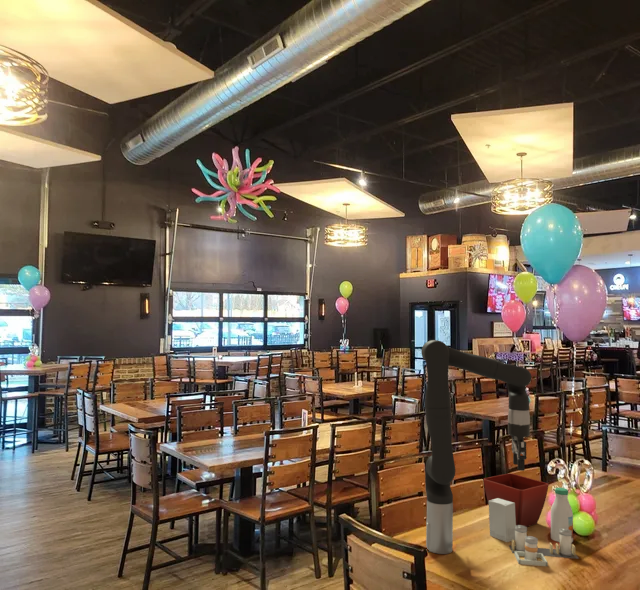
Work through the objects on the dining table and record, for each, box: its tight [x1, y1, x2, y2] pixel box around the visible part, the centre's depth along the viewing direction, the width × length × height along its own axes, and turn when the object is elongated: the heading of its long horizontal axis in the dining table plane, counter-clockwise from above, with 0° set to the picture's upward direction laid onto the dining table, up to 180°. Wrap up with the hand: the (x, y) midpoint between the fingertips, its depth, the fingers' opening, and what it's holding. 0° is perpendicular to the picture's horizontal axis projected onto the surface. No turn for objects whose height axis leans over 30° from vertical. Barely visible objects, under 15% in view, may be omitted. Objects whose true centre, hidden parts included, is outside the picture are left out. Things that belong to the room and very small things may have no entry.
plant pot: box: [483, 472, 549, 528], centre depth 231 cm, size 19×19×17 cm
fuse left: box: [514, 525, 528, 552], centre depth 198 cm, size 4×4×8 cm
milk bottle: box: [550, 487, 574, 543], centre depth 209 cm, size 8×8×20 cm
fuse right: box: [559, 528, 572, 556], centre depth 195 cm, size 4×4×8 cm
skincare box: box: [488, 498, 516, 543], centre depth 210 cm, size 8×6×15 cm
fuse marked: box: [523, 535, 539, 561], centre depth 189 cm, size 4×4×8 cm
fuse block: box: [508, 540, 580, 560], centre depth 196 cm, size 22×7×4 cm, turn 81°
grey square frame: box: [513, 551, 549, 567], centre depth 189 cm, size 9×8×3 cm
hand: (518, 467), depth 200 cm, fingers open, 8 cm apart
